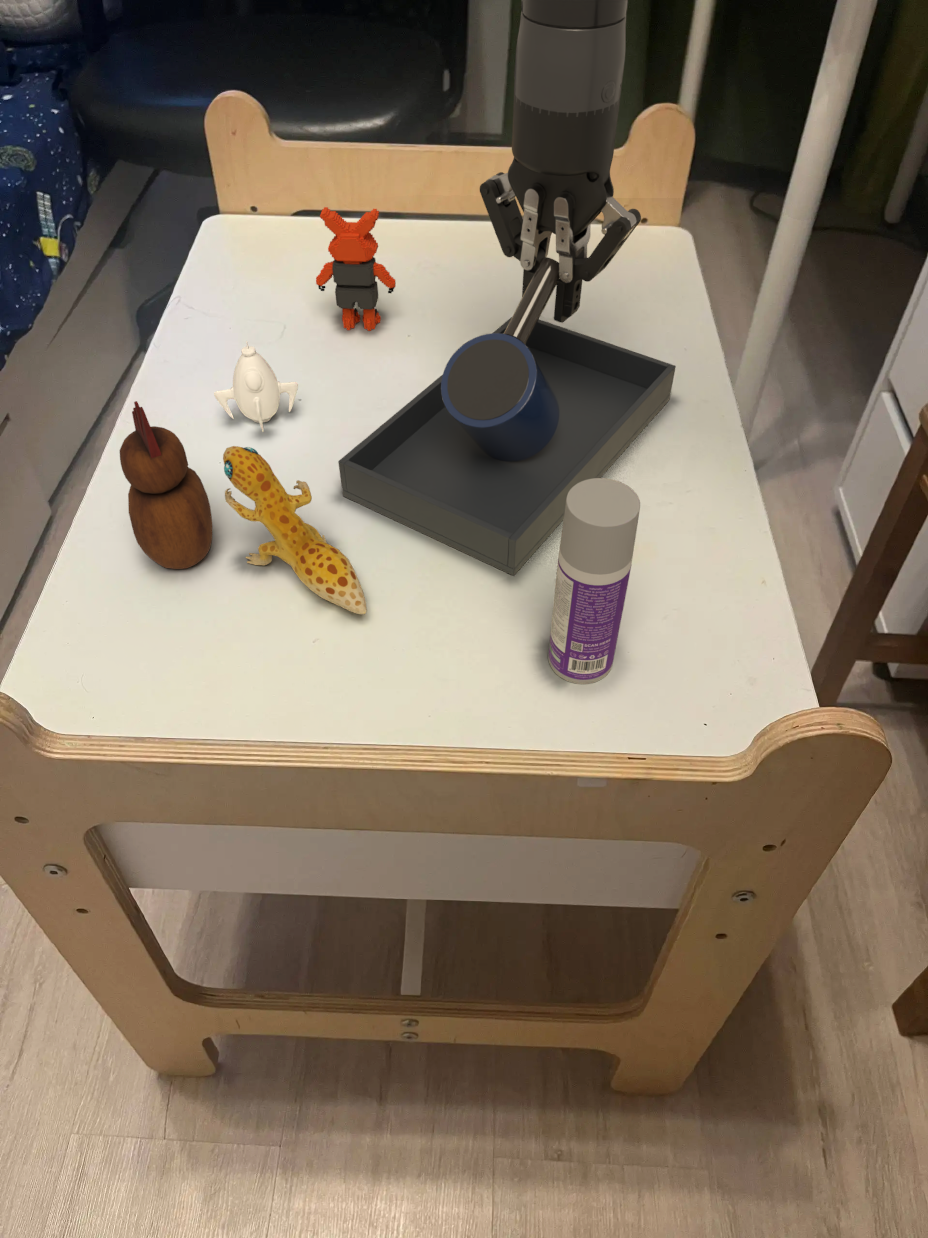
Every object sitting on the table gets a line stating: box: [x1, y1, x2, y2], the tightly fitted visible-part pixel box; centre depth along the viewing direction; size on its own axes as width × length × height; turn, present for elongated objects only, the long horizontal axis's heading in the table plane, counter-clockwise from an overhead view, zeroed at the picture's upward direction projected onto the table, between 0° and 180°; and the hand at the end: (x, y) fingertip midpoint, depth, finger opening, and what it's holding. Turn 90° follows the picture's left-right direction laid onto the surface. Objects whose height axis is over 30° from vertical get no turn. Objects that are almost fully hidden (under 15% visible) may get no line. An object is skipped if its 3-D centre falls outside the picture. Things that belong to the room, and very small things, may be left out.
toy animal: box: [315, 206, 396, 332], centre depth 93 cm, size 8×6×12 cm
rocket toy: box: [213, 340, 299, 433], centre depth 83 cm, size 5×5×8 cm
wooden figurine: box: [119, 400, 213, 570], centre depth 68 cm, size 7×6×15 cm
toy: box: [222, 445, 367, 615], centre depth 68 cm, size 7×15×10 cm, turn 51°
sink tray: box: [337, 316, 677, 576], centre depth 81 cm, size 17×28×4 cm, turn 146°
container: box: [547, 477, 641, 685], centre depth 60 cm, size 5×5×15 cm
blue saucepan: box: [441, 256, 560, 462], centre depth 76 cm, size 15×8×8 cm
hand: (549, 312), depth 77 cm, fingers closed on blue saucepan, 2 cm apart
